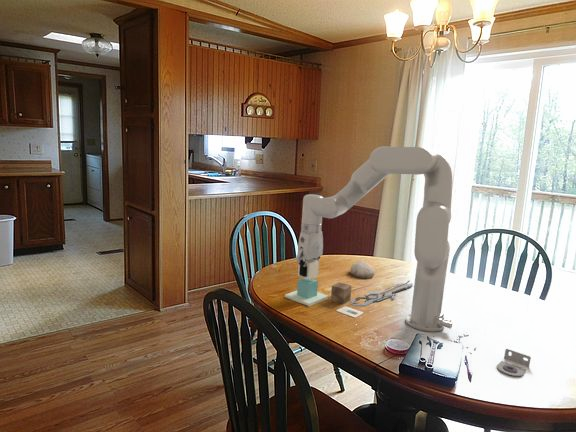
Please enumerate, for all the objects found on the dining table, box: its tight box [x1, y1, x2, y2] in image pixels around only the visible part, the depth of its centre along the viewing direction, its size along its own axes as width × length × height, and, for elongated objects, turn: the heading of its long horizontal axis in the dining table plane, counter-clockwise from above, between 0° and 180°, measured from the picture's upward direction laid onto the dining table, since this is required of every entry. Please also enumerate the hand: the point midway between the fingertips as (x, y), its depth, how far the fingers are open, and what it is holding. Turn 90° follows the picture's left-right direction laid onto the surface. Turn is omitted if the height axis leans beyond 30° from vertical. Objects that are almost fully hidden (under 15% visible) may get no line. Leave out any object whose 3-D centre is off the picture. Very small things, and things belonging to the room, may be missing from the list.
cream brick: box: [297, 259, 320, 279], centre depth 161 cm, size 6×6×6 cm
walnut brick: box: [330, 281, 352, 305], centre depth 162 cm, size 6×6×6 cm
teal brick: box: [296, 277, 319, 299], centre depth 162 cm, size 6×6×6 cm
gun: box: [349, 280, 414, 307], centre depth 171 cm, size 39×2×10 cm
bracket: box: [496, 348, 532, 377], centre depth 118 cm, size 7×10×4 cm, turn 138°
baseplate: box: [284, 289, 330, 307], centre depth 163 cm, size 12×12×1 cm
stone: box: [349, 260, 376, 279], centre depth 195 cm, size 13×10×8 cm
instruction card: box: [335, 305, 365, 319], centre depth 151 cm, size 8×6×1 cm
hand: (308, 273), depth 161 cm, fingers closed on cream brick, 5 cm apart
